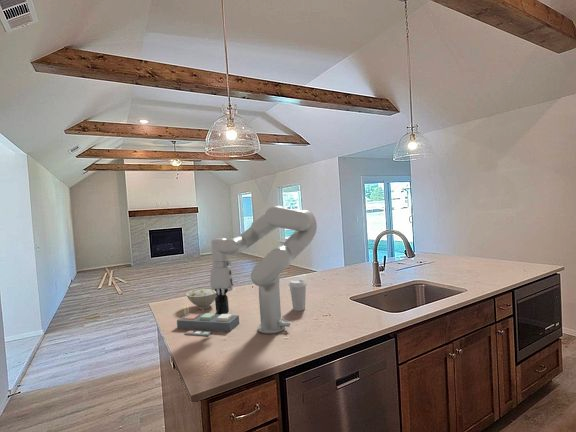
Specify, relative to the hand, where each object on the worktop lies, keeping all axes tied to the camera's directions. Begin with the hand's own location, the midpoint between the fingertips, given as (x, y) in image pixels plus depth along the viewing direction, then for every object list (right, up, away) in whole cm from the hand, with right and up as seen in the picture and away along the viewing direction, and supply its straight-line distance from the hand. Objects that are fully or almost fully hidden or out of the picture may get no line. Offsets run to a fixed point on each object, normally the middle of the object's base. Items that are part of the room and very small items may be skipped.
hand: (222, 302), depth 152 cm
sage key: (-8, -10, +3) cm, 13 cm away
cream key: (+1, -10, 0) cm, 10 cm away
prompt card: (-10, -13, -6) cm, 17 cm away
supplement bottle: (-4, -12, +21) cm, 24 cm away
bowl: (-17, -12, +33) cm, 39 cm away
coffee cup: (+37, -9, +20) cm, 43 cm away
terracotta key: (-16, -11, +5) cm, 20 cm away
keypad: (-7, -12, +3) cm, 15 cm away
